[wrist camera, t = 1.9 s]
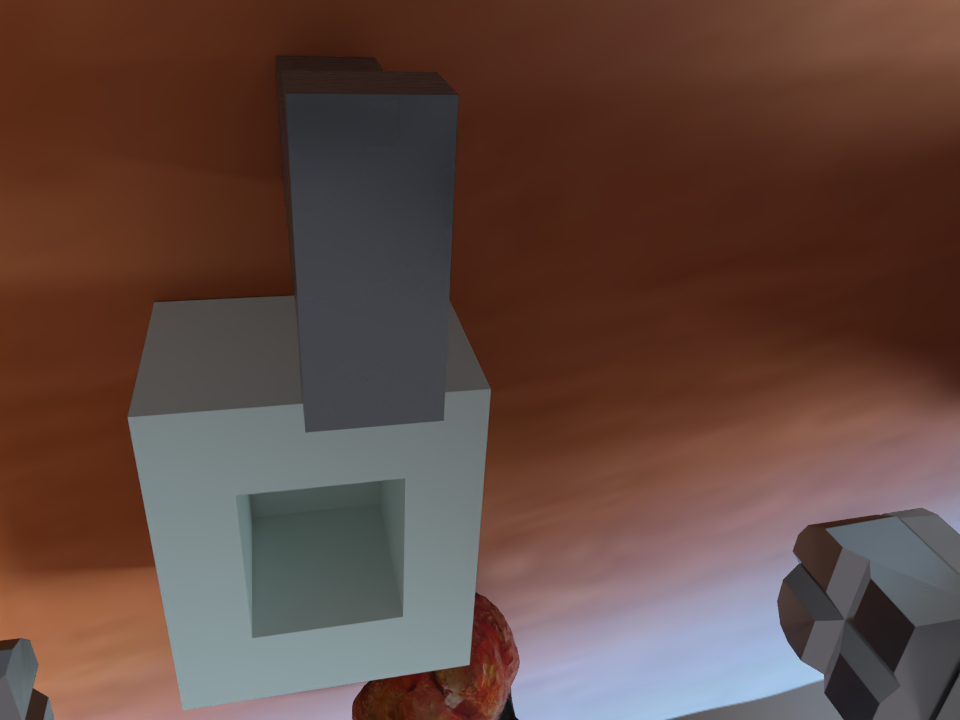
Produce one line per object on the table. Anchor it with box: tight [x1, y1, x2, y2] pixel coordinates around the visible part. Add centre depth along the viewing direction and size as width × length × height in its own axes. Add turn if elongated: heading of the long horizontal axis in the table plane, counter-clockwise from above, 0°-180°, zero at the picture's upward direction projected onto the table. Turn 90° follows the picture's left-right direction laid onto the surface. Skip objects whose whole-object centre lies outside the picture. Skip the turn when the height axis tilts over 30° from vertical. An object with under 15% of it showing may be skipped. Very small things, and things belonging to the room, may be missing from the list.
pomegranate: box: [352, 592, 520, 720], centre depth 35 cm, size 7×7×10 cm
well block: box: [127, 296, 491, 710], centre depth 29 cm, size 10×12×7 cm
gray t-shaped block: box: [275, 56, 458, 433], centre depth 21 cm, size 3×7×12 cm, turn 177°
